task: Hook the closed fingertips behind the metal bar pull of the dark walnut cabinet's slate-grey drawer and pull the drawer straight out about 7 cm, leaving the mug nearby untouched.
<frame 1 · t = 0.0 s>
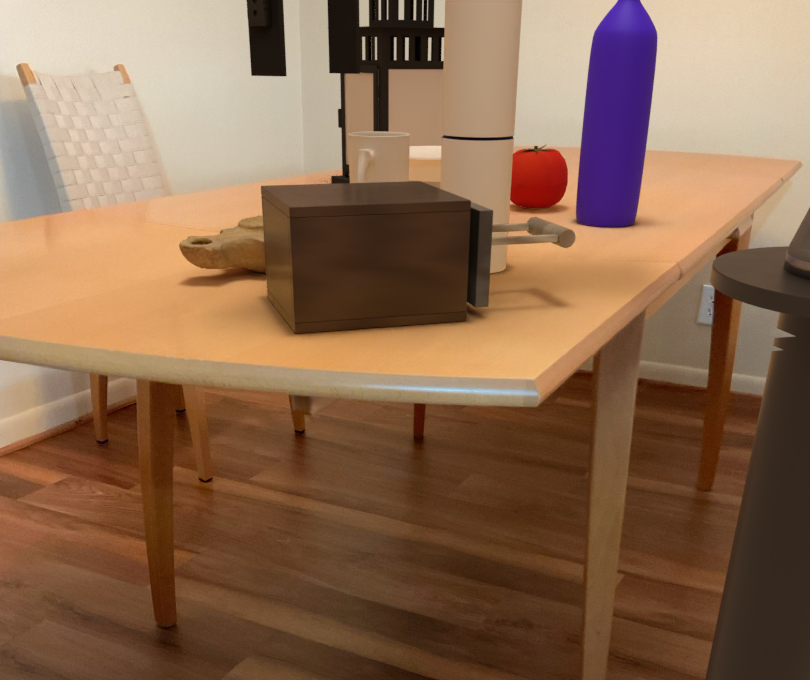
hand: (309, 75, 77), 18 cm above the table, tool pointing down, fingers open, 13 cm apart
lantern: (400, 187, 154), on the table
mug: (374, 251, 104), on the table
oil lamp: (256, 274, 93), on the table
bottle: (604, 224, 123), on the table
bowl: (437, 221, 123), on the table
cabinet: (362, 308, 80), on the table
cylindrical container: (471, 268, 96), on the table
drawer: (441, 248, 80), point 5 cm above the table, slide at 1.0 cm
tomato: (533, 209, 133), on the table
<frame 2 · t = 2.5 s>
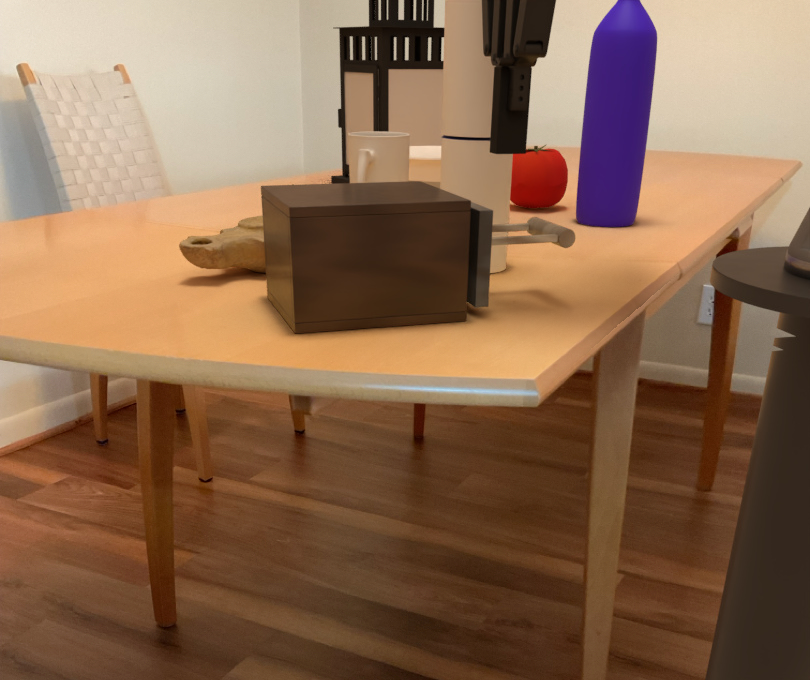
hand: (507, 152, 78), 12 cm above the table, tool pointing down, fingers closed
nothing on the table moved.
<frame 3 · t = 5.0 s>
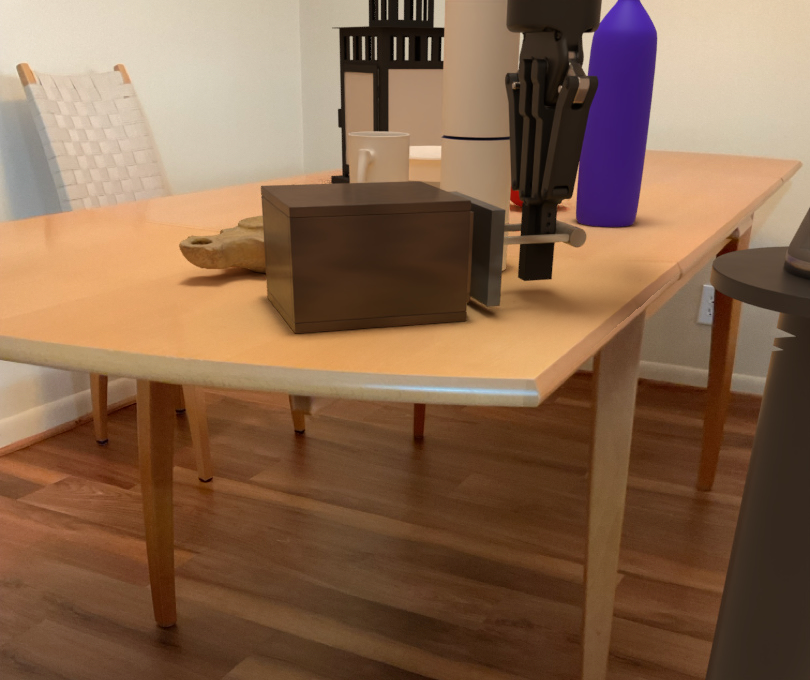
hand: (534, 278, 84), 2 cm above the table, tool pointing down, fingers closed
drawer: (452, 247, 80), point 5 cm above the table, slide at 2.1 cm, touching gripper
everything else where it was.
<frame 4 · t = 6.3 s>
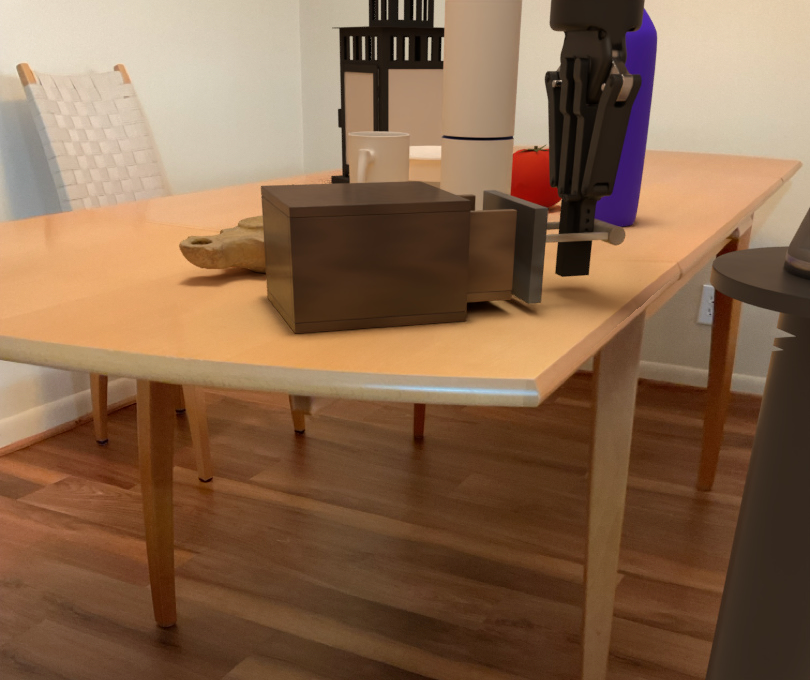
hand: (571, 274, 85), 2 cm above the table, tool pointing down, fingers closed
drawer: (493, 245, 81), point 5 cm above the table, slide at 5.9 cm
everything else where it was.
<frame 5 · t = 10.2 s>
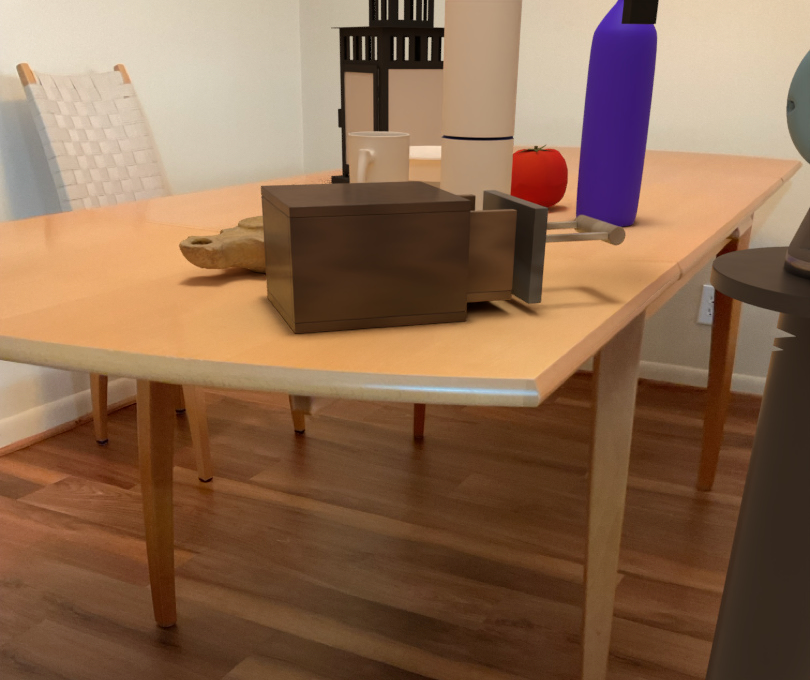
hand: (638, 23, 84), 22 cm above the table, tool pointing down, fingers closed
nothing on the table moved.
at the end: drawer slide at 5.9 cm; mug moved 0.2 cm from its start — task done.
